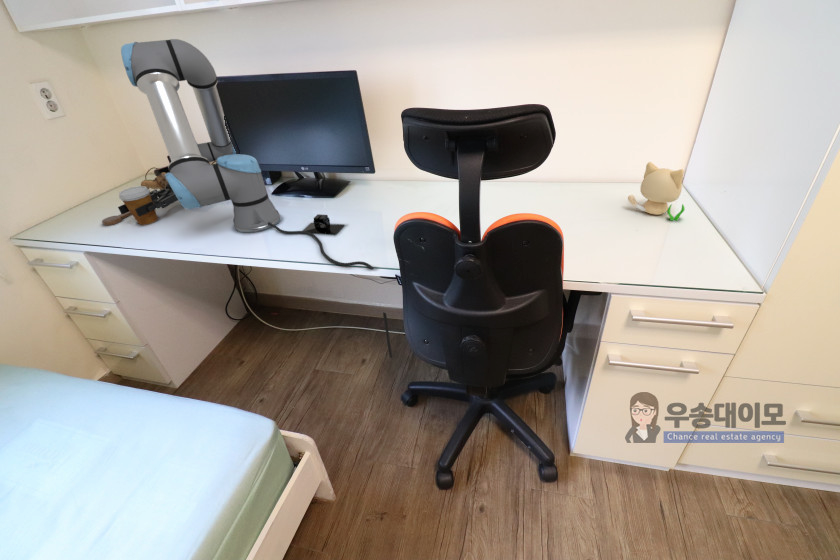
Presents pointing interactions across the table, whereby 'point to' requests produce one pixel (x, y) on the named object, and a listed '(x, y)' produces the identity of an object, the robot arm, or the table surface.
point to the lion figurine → (156, 182)
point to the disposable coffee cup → (138, 203)
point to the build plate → (323, 226)
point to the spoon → (115, 219)
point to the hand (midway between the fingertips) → (128, 211)
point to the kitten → (659, 190)
